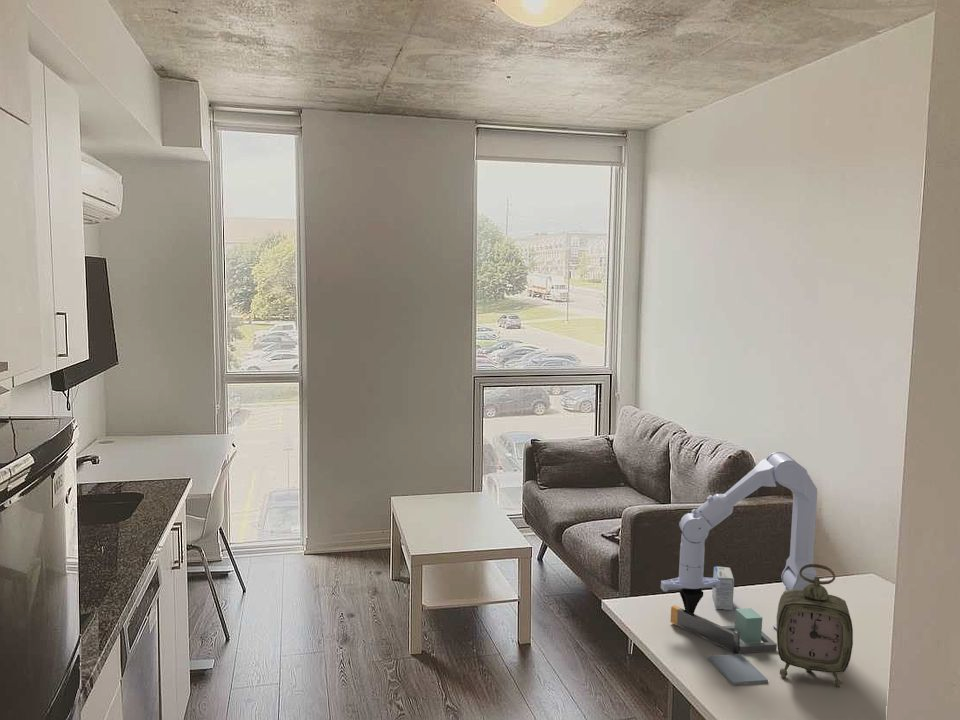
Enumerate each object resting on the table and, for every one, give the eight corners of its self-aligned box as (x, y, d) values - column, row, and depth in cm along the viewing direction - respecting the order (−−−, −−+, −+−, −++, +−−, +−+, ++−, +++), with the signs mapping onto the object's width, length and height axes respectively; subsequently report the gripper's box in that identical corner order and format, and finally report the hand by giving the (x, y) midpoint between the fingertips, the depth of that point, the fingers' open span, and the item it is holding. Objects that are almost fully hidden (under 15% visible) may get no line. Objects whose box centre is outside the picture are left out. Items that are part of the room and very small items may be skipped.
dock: (753, 630, 183) (754, 624, 183) (776, 650, 173) (776, 644, 173) (719, 632, 181) (719, 626, 181) (740, 653, 172) (740, 646, 171)
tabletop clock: (773, 678, 161) (781, 566, 158) (773, 659, 169) (780, 551, 166) (848, 693, 156) (858, 577, 153) (844, 672, 164) (853, 561, 162)
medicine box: (732, 611, 193) (734, 578, 192) (714, 609, 194) (716, 577, 193) (729, 598, 201) (730, 567, 200) (711, 596, 202) (713, 565, 201)
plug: (750, 634, 181) (752, 606, 180) (764, 647, 175) (766, 618, 174) (730, 636, 180) (732, 608, 179) (743, 648, 174) (745, 619, 173)
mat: (741, 656, 170) (741, 653, 170) (767, 682, 159) (767, 679, 159) (708, 658, 169) (708, 656, 169) (732, 685, 158) (732, 682, 158)
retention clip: (673, 621, 186) (674, 602, 185) (740, 652, 171) (741, 632, 171) (670, 622, 185) (671, 604, 185) (736, 654, 170) (737, 634, 170)
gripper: (711, 555, 188) (708, 608, 189) (656, 558, 185) (654, 611, 187) (725, 566, 181) (722, 620, 182) (668, 569, 178) (665, 624, 180)
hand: (688, 616), depth 184 cm, fingers closed
